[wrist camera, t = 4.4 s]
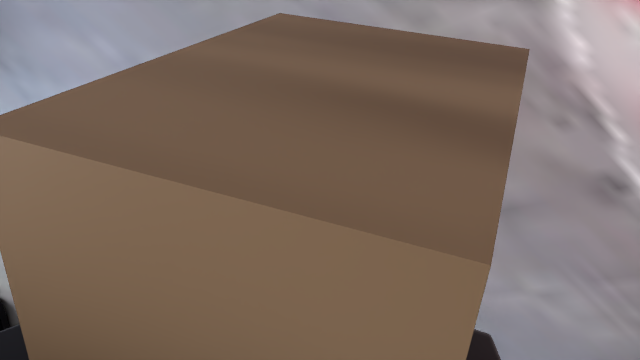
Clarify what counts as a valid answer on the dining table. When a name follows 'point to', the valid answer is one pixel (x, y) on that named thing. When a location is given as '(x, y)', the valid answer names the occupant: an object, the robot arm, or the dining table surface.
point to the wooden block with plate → (263, 198)
